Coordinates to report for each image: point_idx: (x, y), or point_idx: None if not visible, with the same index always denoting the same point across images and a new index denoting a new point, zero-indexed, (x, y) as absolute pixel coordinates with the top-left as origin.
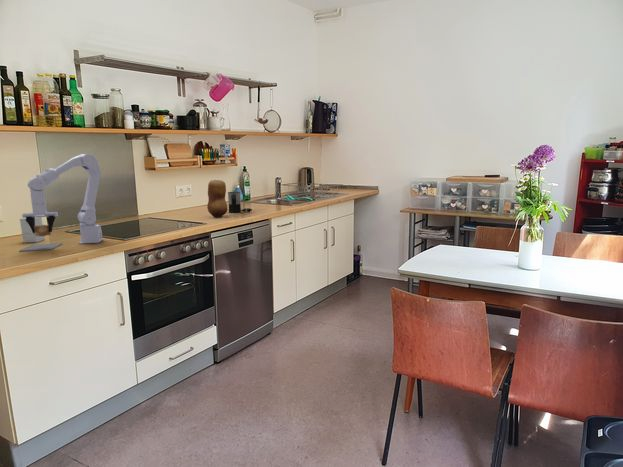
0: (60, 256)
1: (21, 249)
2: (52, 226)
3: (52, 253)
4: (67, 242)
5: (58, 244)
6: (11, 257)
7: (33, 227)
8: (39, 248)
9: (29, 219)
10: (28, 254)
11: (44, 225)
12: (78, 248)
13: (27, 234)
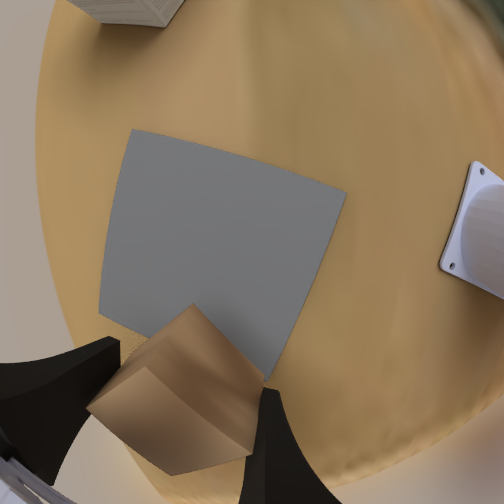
0: None
1: (101, 289)
2: (288, 429)
3: None
4: (377, 140)
5: (316, 244)
6: None
7: (90, 401)
8: None
9: (42, 480)
10: None
11: (191, 445)
12: (399, 398)
13: (94, 3)
